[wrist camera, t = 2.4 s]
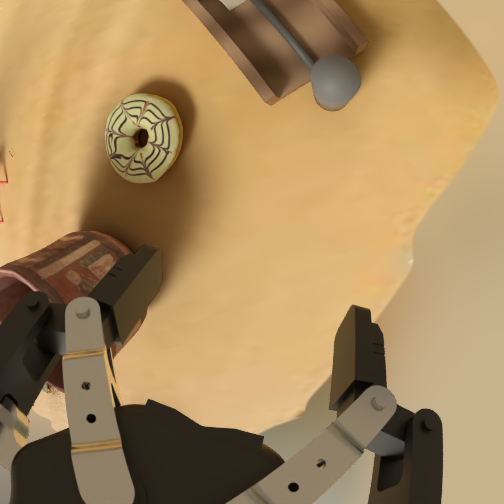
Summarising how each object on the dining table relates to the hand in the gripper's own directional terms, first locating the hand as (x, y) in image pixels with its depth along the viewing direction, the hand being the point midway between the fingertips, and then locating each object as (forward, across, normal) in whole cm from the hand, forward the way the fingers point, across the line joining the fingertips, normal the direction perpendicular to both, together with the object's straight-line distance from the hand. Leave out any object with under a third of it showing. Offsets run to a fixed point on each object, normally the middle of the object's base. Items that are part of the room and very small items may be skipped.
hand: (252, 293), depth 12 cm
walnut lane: (+27, -8, +14) cm, 31 cm away
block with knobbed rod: (+25, -5, +12) cm, 29 cm away
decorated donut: (+24, -18, -3) cm, 30 cm away
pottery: (+20, -22, -23) cm, 38 cm away
